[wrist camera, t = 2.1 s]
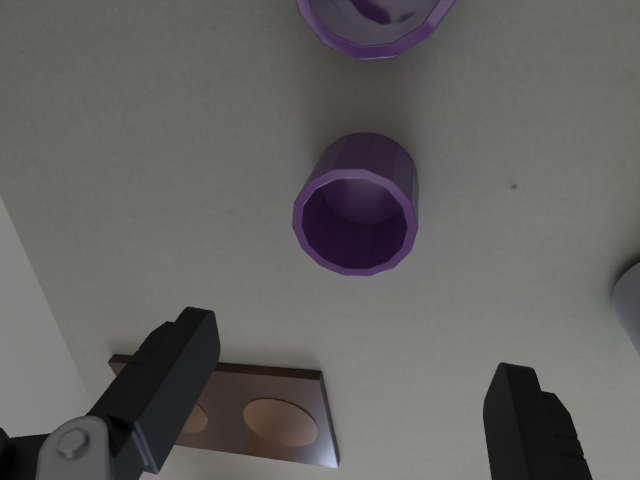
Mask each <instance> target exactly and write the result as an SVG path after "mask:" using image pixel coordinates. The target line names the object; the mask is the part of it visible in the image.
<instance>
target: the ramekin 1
mask: <svg viewBox="0 0 640 480" xmlns="http://www.w3.org/2000/svg"><path fill="white" fill-rule="evenodd" d="M292 226H293V229H294V231H295V234H296V236H297V238H298V241H299V243H300V245H301V248H302V249H303V250H304V251H305V252H306V253H307V254H308V255H309V256H310V257H311V258H312V259H314V260H315V261H316V262H317V263H318V264H319V265H320V266H322V267H325V268H327V269H329V270H332V271H334V272H337V273H339V274H342V275H345V276H373V275H375V274H378V273H381V272H384V271H387V270H390V269H392V268H394V267H395V266H396V265H397V264H398V263H399V262H400V261H401V260H402V259H403V258H404V257H406V256H407V255H408V254H409V253H410V252H411V250H412V247H413V243H414V240H415V237H416V233H417V230H418V181H417V172H416V169H415V166H414V163H413V161H412V159H411V158H410V156H409V154H408V153H407V152H406V151H405V149H403V148H402V147H401V146H400V145H399V144H398V143H396V142H395V141H393V140H391V139H390V138H388V137H385V136H382V135H379V134H375V133H355V134H351V135H347V136H345V137H343V138H340V139H339V140H337V141H335V142H334V143H333V144H331V145H330V146H329V147H328V148H327V149H326V151H325V152H324V153H323V155H322V156H321V158H320V159H319V161H318V162H317V164H316V165H315V167H314V169H313V171H312V172H311V174H310V176H309V177H308V179H307V181H306V183H305V184H304V186H303V188H302V190H301V191H300V193H299V195H298V196H297V198H296V200H295V202H294V210H293V223H292Z"/></svg>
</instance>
